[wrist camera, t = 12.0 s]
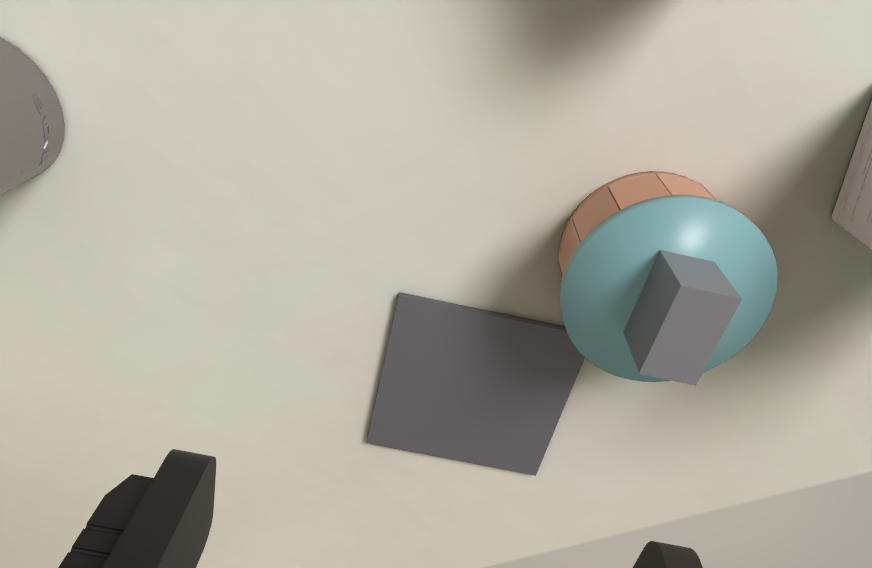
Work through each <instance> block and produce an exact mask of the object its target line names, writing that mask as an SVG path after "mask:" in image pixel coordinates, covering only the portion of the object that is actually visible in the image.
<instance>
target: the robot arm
mask: <svg viewBox="0 0 872 568" xmlns="http://www.w3.org/2000/svg"><path fill="white" fill-rule="evenodd" d="M64 125H65V124H64V119H63V113H62V108H61V105H60V103H59V100H58V98H57V95H56V93H55V91H54V89H53V87H52V86H51V84H50V82H49V81H48V79H47V77H46V76H45V75H44V74H43V72H42V71H41V70H40V69H39V68H38V66H37V65H36V64H35V63H34V62H33V61H32V60H31V59H30V58H29V57H28V56H27V55H25V54H24V53H23V52H22V51H21V50H20V49H19V48H17V47H15V46H14V45H12V44H11V43H9V42H8V41H6V40H4V39H3V38H1V37H0V195H2V194H4V193H6V192H7V191H9V190H11V189H13V188H14V187H16V186H18V185H20V184H22V183H23V182H25V181H27V180H29V179H30V178H32V177H34V176H36V175H37V174H39V173H41V172H43V171H44V170H45V169H47V168H48V167H49V166H50V165H51V164H52V163H53V162H54V161H55V159H56V158H57V156H58V154H59V153H60V151H61V147H62V144H63V140H64ZM215 475H216V458H215V457H212V456H207V455H202V454H197V453H191V452H186V451H181V450H175V449H173V450H171V451H170V452H169V453H168V455H167V456H166V458H165V460H164V461H163V463H162V465H161V467H160V468H159V470H158V472H157V474H156V475H155V477H154V478H149V477H144V476H139V475H133V474H132V475H131V476H129V477H128V478H127V479H125V480H124V481H123V482H122V483H120V484H119V485H118V486H117V487H115V488H114V489H113V490H111V491H110V492H109V493H108V494H106V495H105V496H104V498H103V499H102V501H101V502H100V504H99V505H98V507H97V508H96V510H95V512H94V513H93V515H92V516H91V518H90V519H89V521H88V522H87V526H86V528H85V529H83V530H82V532H81V533H80V535H79V536H78V538H77V540H76V541H75V543H74V544H73V546H72V549H71V552H70V553H69V552H68V554H67V555H66V557H65V558H64V560H63V561H62V563H61V565H60V566H59V568H196V566H197V564H198V561H199V559H200V557H201V554H202V552H203V549H204V547H205V544H206V541H207V538H208V535H209V531H210V528H211V523H212V518H213V508H214V492H215ZM633 568H703V567H702V565H701V562H700V559H699V557H698V555H697V554H696V552H695V551H694V550H693V549H691V548H686V547H681V546H675V545H670V544H665V543H660V542H654V541H650V542H649V543H647V544H646V546H645V547H644V549H643V551H642V552H641V554H640V556H639V558H638V559H637V561H636V563H635V565H634V566H633Z"/></svg>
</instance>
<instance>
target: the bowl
mask: <svg viewBox="0 0 872 568" xmlns="http://www.w3.org/2000/svg"><path fill="white" fill-rule="evenodd" d="M668 195H695V196H701V197H707V198H711V199H714V200H716V199H715V198H714V197H713V196H712V195H711V194H710V193H709V192H708V191H707V189H706V188H705V187H704V186H703V185H702V184H700V183H698V182H695V181H693V180H691V179H688V178H686V177H684V176H681V175H677V174H674V173H668V172H655V171H650V172H640V173H635V174H630V175H626V176H623V177H621V178H618V179H615V180H613V181H611V182H609V183H607V184H605V185H603V186H602V187H600V188H599V189H597V190H595V191H594V192H593V193H592V194H590V195H589V196H588V197H587V198H586V199H585V200H584V201H583V202H582V203H581V204H580V205H579V206H578V207H577V209H576V210H575V211H574V212H573V214H572V215H571V217H570V219H569V220H568V222H567V224H566V226H565V229H564V231H563V234H562V238H561V241H560V248H559V255H558V261H559V265H560V269H561V273H562V277H563V274H564V271H565V268H566V266H567V264H568V261H569V259H570V257H571V256H572V254H573V252H574V251H575V249H576V248H577V246H578V245H579V244H580V242H581V241H582V240H583V239H584V238H585V236H586V235H587V234H588V233H589V232H590V231H591V230H593V229H594V228H595V227H596V226H597V225H598V224H600V223H601V222H602V221H603V220H605V219H606V218H607V217H609V216H611V215H612V214H614V213H616V212H617V211H619V210H621V209H623V208H625V207H628V206H630V205H632V204H634V203H637V202H640V201H644V200H647V199H651V198H655V197H660V196H668Z"/></svg>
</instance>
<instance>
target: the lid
mask: <svg viewBox="0 0 872 568" xmlns="http://www.w3.org/2000/svg"><path fill="white" fill-rule="evenodd" d="M777 285H778V271H777V264H776V259H775V256H774V253H773V250H772V248H771V246H770V244H769V242H768V241H767V239H766V237H765V236H764V235H763V234H762V232H761V231H760V230H759V229H758V228H757V226H756V225H755V224H754V223H753V222H751V221H750V220H749V219H748V218H747V217H746V216H745V215H744V214H742V213H741V212H739V211H738V210H736V209H735V208H733V207H731V206H729V205H727V204H725V203H723V202H721V201H717V200H714V199H711V198H707V197H701V196H695V195H668V196H660V197H655V198H651V199H647V200H644V201H640V202H637V203H634V204H632V205H630V206H628V207H625V208H623V209H621V210H619V211H617V212H616V213H614V214H612V215H611V216H609V217H607V218H606V219H605V220H603V221H602V222H601V223H600V224H598V225H597V226H596V227H595V228H594V229H593V230H591V231H590V232H589V233H588V234H587V235H586V236H585V238H584V239H583V240H582V241H581V242H580V244H579V245H578V246H577V248H576V249H575V251H574V252H573V254H572V256H571V257H570V259H569V261H568V264H567V266H566V268H565V271H564V274H563V278H562V281H561V288H560V307H561V313H562V318H563V322H564V325H565V328H566V331H567V333H568V335H569V337H570V339H571V341H572V343H573V344H574V345H575V347H576V348H577V349H578V351H579V352H580V353H581V354H582V355H583V356H584V357H585V358H586V359H587V360H589V361H590V362H591V363H593V364H594V365H595V366H597V367H599V368H600V369H602V370H604V371H606V372H608V373H611V374H613V375H616V376H619V377H622V378H626V379H630V380H637V381H647V382H660V381H671V380H672V381H677V382H682V383H687V384H691V385H696V384H697V382H698V380H699V378H700V376H701V374H702V373H703V372H705V371H707V370H709V369H711V368H713V367H715V366H717V365H719V364H721V363H723V362H724V361H726V360H728V359H729V358H731V357H732V356H733V355H735V354H736V353H737V352H739V351H740V350H741V349H742V348H743V347H744V346H745V345H746V344H747V343H748V342H750V341H751V339H752V338H753V337H754V336H755V335H756V333H757V332H758V331H759V330H760V328H761V327H762V325H763V324H764V322H765V321H766V319H767V317H768V315H769V313H770V311H771V309H772V306H773V303H774V300H775V296H776V291H777Z"/></svg>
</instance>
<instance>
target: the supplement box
mask: <svg viewBox="0 0 872 568" xmlns="http://www.w3.org/2000/svg"><path fill="white" fill-rule="evenodd" d="M832 220H833V221H835V222H836V223H837V224H838V225H840V226H841V227H842V228H844V229H845V230H846V231H848V232H849V233H850V234H851V235H853V236H854V237H855V238H857V239H858V240H859V241H861V242H862V243H863V244H864V245H866V246H867V247H869V248H870V249H871V250H872V101H871V104H870V106H869V109H868V112H867V115H866V118H865V121H864V124H863V127H862V129H861V132H860V135H859V138H858V141H857V144H856V147H855V150H854V153H853V155H852V158H851V161H850V164H849V167H848V170H847V173H846V176H845V179H844V182H843V185H842V187H841V190H840V193H839V196H838V199H837V202H836V205H835V208H834V211H833V214H832Z"/></svg>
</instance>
